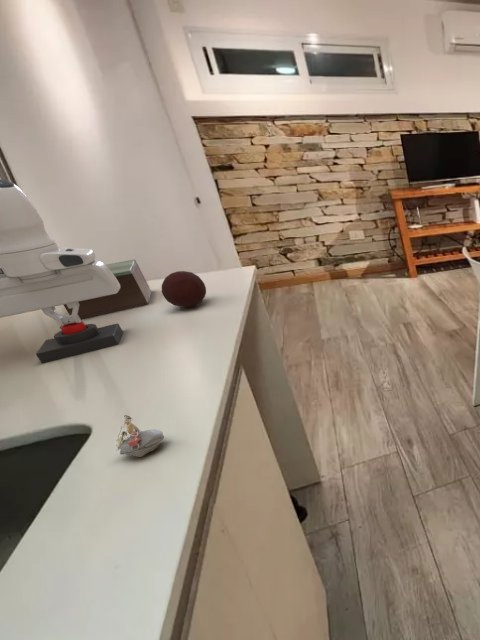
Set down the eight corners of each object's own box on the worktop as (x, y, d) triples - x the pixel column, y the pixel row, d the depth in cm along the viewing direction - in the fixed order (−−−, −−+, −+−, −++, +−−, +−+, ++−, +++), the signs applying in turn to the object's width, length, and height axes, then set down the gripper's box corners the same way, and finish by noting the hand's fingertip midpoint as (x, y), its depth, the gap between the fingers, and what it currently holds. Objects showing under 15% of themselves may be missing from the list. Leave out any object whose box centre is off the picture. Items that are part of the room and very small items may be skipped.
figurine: (172, 437, 71) (152, 403, 68) (164, 453, 67) (143, 419, 65) (127, 449, 69) (105, 415, 66) (116, 467, 65) (93, 432, 62)
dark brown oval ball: (208, 295, 130) (193, 263, 126) (215, 306, 122) (200, 271, 118) (169, 305, 125) (152, 272, 121) (173, 317, 117) (155, 281, 113)
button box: (41, 363, 98) (30, 346, 96) (51, 348, 104) (40, 332, 102) (118, 344, 104) (109, 327, 102) (123, 331, 111) (114, 316, 109)
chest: (148, 304, 127) (131, 272, 123) (73, 320, 119) (52, 287, 116) (151, 291, 137) (136, 262, 133) (82, 306, 129) (64, 275, 126)
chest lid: (131, 273, 123) (129, 270, 122) (52, 288, 115) (50, 285, 115) (136, 262, 133) (135, 259, 133) (64, 275, 126) (62, 272, 125)
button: (62, 337, 100) (58, 329, 99) (66, 332, 103) (61, 324, 102) (85, 331, 102) (81, 324, 101) (88, 326, 105) (84, 319, 104)
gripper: (-51, 279, 88) (-3, 344, 94) (97, 253, 99) (131, 314, 105) (-38, 271, 92) (6, 335, 99) (102, 248, 103) (133, 306, 109)
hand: (71, 324), depth 102 cm, fingers closed
